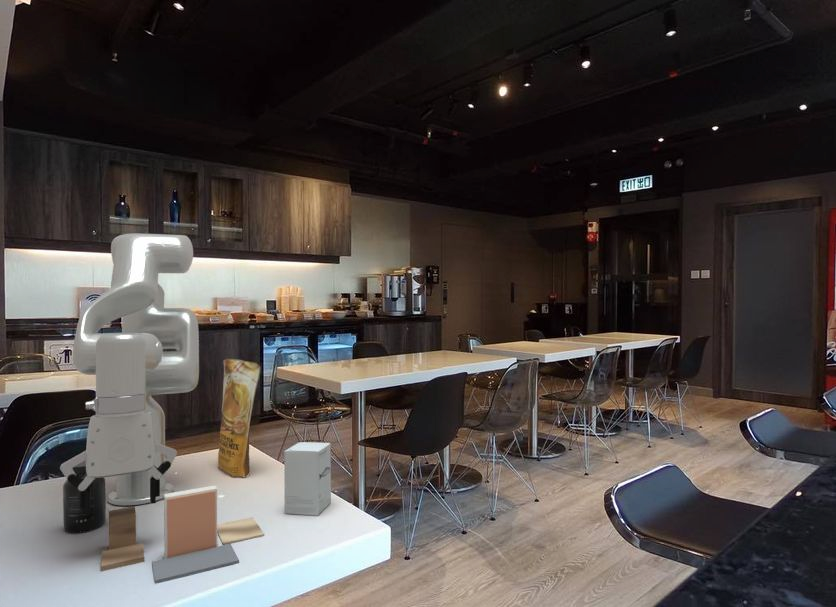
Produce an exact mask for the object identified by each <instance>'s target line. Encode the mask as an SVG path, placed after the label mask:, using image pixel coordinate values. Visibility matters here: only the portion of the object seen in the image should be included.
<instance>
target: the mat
mask: <svg viewBox="0 0 836 607" xmlns="http://www.w3.org/2000/svg"><path fill="white" fill-rule="evenodd" d="M239 563H240V559H239V557H238V556H237V554H236V551H235V549H234V548H233V546H232V543H229V544H225V545H223V544H222V545H218V547H214V548H210V549H205V550H201V551H196V552H192V553H188V554H183V555H179V556H174V557H170V558H165V557H164V558H163V559H157V560H152V561H151V565H152V572H153V579H154V583H155V584H158V583H163V582H167V581H170V580H173V579H174V580H175V579H178V578H183V577H186V576H191V575H194V574H199V573H203V572H206V571H211V570H214V569H218V568H219V569H220V568H222V567H228V566H231V565H235V564H236V565H237V564H239Z"/></svg>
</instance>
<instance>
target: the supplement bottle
mask: <svg viewBox="0 0 836 607" xmlns="http://www.w3.org/2000/svg"><path fill="white" fill-rule="evenodd" d="M72 469H73V471H74V472H75V474H77V475H78V476H80V477H81V478H82V479H83V477H84V476H85V475H86V474H87V473H86V460H85V461H83V462H81V463H79V464H78V465H76V466H74V467H73V468H72ZM89 486H90V487H91V512H90V514H89V515H85V509H80V490H79V489H78V488H77V487H75V486H74V485H72V484H71V483H70V482H68V480H67V479H66V481H65V482H64V483H63V485H62V511H63V512H62V515H63V516H62V517H63V521H62V522H63V530H64V531H65V532H66V533H69V534H81V533H86V532H90V531H93V530H96V529H99V528H100V527H102V526H103V525H104V524H105V523H106V520H107V505H106V504H107V500H106V499H107V494H106V493H107V491H106V489H107V488H106V477H104V478H95V479H94V480H93V481H92V482H91V484H90V485H89Z"/></svg>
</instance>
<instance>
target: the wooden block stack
mask: <svg viewBox="0 0 836 607" xmlns="http://www.w3.org/2000/svg"><path fill="white" fill-rule="evenodd" d="M136 514H137V513H136V505H132V506H130V507H128V506H127V507H124V508H117V509H112V510H111V509H110V510H108V550H102V551H101V560H100V562H101V563H100V572H104V571H109V570H114V569H117V568H118V567H119V568H122V567H127V566H132V565H136V564H140V563H145V551H144V543H143V542H139V543H137V515H136Z"/></svg>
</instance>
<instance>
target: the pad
mask: <svg viewBox="0 0 836 607" xmlns="http://www.w3.org/2000/svg"><path fill="white" fill-rule="evenodd" d="M217 536H218V537H219V539H220V541H221V544H222V546H223V545H227V544H234V543H237V542H242V541H246V540H252V539H255V538H259V537H263V536H265V533H264V531H263V530H262V528H261V527H260V525H259V524H258V522H257V521H256V520H255V519H254V517H253V516H252V517H247V518H243V519H238V520H233V521H229V522H223V523H219V524H218V523H217Z"/></svg>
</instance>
